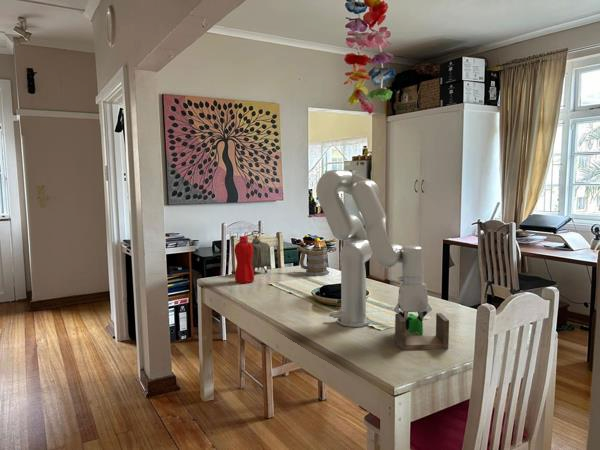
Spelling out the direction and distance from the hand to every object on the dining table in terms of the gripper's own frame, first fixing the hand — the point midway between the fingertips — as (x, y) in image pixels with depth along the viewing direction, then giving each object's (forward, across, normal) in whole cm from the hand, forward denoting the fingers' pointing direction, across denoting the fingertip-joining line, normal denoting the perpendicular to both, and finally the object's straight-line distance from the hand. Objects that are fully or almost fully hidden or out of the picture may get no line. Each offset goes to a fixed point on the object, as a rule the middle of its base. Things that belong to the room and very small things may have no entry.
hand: (412, 328), depth 164 cm
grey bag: (-2, -65, +103) cm, 122 cm away
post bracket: (+1, -1, -14) cm, 14 cm away
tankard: (-1, -32, +100) cm, 106 cm away
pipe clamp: (+1, 0, +1) cm, 1 cm away
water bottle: (-2, -69, +80) cm, 106 cm away
